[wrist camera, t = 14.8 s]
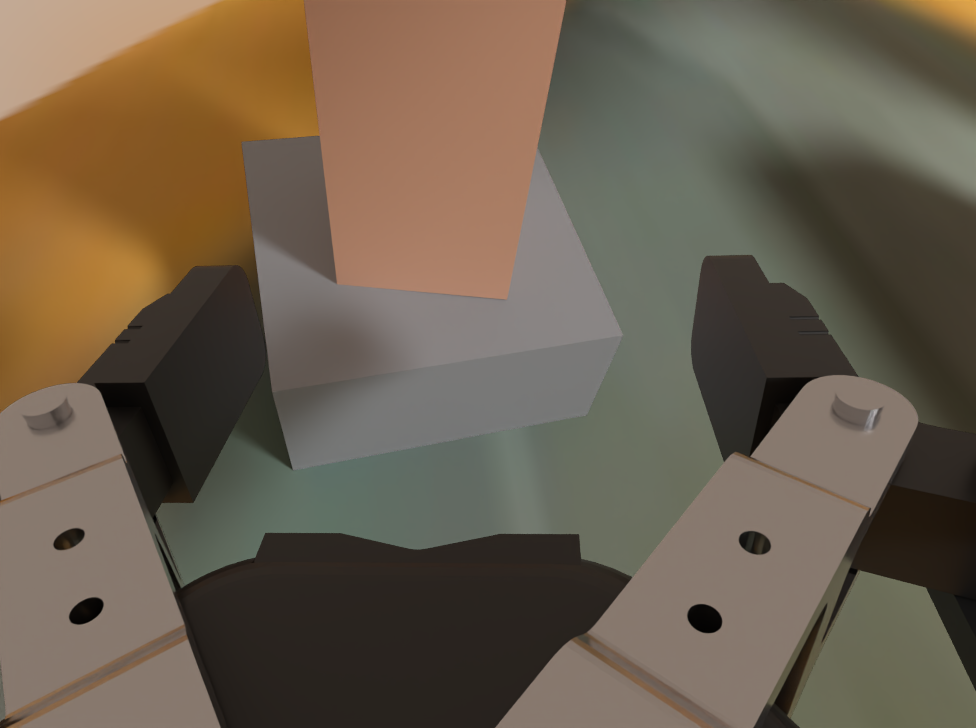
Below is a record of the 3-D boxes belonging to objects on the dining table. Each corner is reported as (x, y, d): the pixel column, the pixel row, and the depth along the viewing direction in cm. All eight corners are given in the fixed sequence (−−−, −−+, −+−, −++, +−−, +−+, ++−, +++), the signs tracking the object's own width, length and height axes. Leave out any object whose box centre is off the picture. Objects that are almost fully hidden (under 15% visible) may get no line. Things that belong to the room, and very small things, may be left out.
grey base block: (506, 218, 30) (524, 119, 26) (584, 419, 25) (623, 335, 21) (263, 246, 27) (241, 141, 23) (294, 474, 22) (272, 392, 18)
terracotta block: (509, 184, 24) (568, -167, 15) (507, 299, 21) (576, -53, 12) (360, 169, 23) (337, -198, 15) (337, 284, 20) (293, -89, 12)
